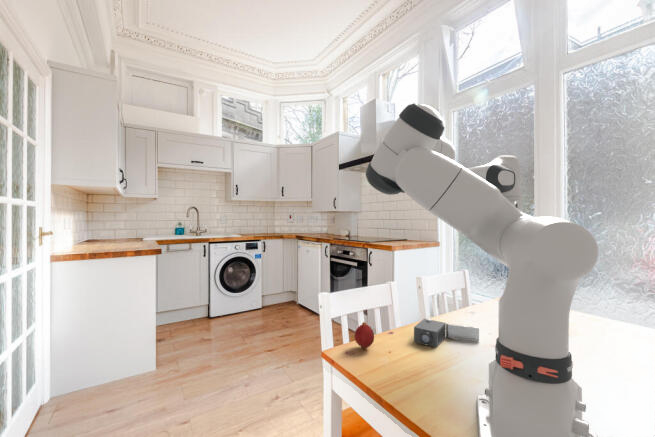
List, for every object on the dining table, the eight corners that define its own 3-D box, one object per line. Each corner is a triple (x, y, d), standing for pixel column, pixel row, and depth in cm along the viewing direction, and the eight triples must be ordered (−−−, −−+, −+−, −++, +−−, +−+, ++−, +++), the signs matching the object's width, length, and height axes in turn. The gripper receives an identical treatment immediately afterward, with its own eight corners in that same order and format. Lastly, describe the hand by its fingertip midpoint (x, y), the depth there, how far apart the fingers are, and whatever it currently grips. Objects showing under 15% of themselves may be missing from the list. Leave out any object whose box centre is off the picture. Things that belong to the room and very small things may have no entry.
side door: (478, 340, 93) (478, 327, 93) (479, 341, 92) (479, 328, 92) (445, 336, 97) (445, 323, 97) (446, 337, 95) (446, 324, 96)
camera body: (435, 349, 87) (435, 331, 87) (412, 343, 91) (412, 326, 91) (445, 336, 96) (445, 321, 96) (424, 331, 100) (424, 316, 100)
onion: (355, 343, 90) (355, 317, 90) (374, 345, 89) (374, 319, 89) (353, 352, 85) (353, 324, 85) (373, 354, 83) (373, 325, 84)
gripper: (498, 208, 105) (498, 246, 105) (490, 205, 89) (489, 251, 89) (519, 207, 101) (519, 247, 101) (514, 205, 85) (514, 252, 85)
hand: (505, 249), depth 95 cm, fingers closed
